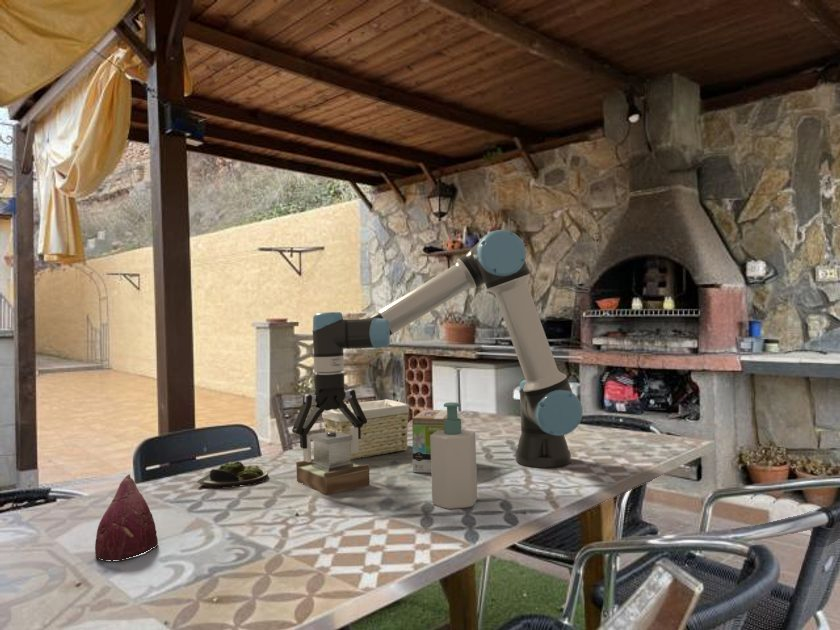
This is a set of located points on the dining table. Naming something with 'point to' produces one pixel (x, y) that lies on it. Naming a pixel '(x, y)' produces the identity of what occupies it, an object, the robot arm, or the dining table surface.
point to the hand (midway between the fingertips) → (331, 456)
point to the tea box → (425, 437)
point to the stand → (332, 477)
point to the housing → (331, 451)
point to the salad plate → (233, 475)
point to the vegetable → (126, 525)
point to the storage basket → (374, 427)
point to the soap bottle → (453, 463)
